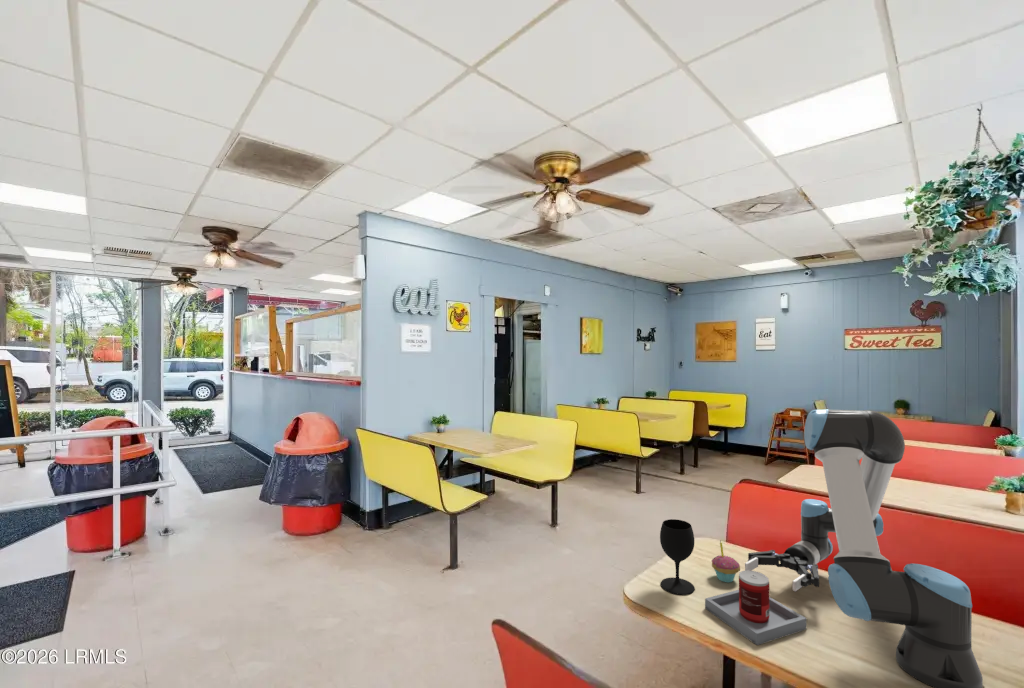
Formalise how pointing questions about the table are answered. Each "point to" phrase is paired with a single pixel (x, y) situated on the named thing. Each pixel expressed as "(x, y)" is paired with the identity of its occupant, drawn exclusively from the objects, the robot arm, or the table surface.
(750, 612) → the canned food
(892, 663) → the table surface
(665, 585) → the wine glass
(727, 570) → the cupcake
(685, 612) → the table surface
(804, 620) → the tray
